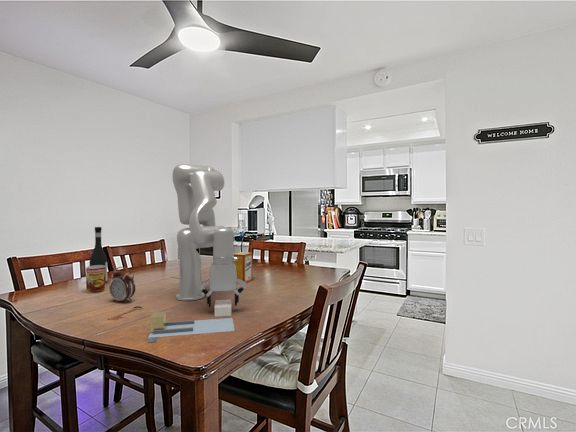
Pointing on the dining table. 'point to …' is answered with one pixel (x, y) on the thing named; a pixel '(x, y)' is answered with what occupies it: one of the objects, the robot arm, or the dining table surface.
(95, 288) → the canned food
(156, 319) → the block
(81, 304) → the dining table surface
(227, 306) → the white rectangular block
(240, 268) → the baking soda box
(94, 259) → the wine bottle
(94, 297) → the dining table surface
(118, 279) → the alarm clock
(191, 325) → the plate
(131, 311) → the key
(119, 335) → the dining table surface
